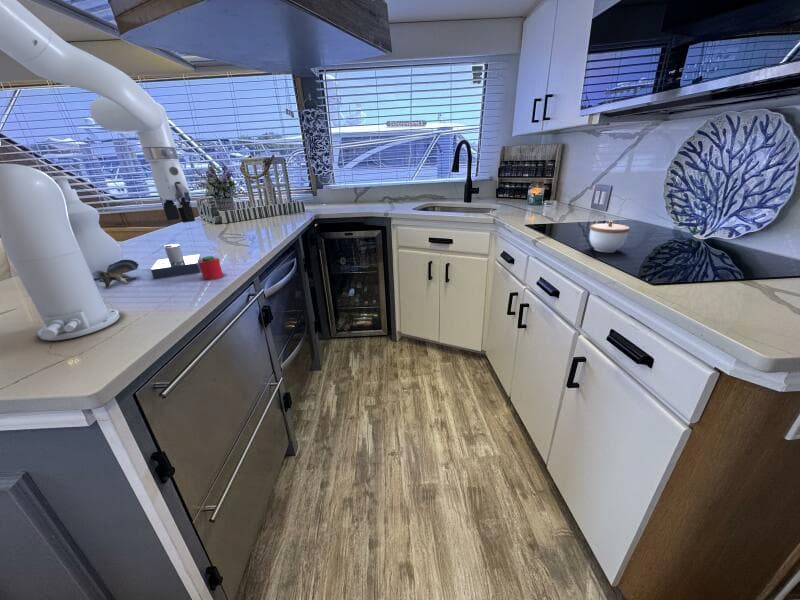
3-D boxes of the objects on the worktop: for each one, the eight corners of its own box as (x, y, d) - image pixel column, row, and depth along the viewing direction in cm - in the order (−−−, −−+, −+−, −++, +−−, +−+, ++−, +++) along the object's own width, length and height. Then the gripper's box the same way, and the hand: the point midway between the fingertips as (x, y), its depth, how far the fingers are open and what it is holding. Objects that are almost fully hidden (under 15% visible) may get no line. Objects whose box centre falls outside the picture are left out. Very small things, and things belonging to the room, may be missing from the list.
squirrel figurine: (123, 284, 89) (146, 268, 96) (97, 265, 86) (124, 250, 93) (110, 297, 91) (134, 281, 99) (85, 279, 88) (112, 263, 96)
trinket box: (631, 253, 100) (639, 223, 97) (596, 254, 101) (603, 224, 97) (611, 245, 110) (618, 217, 106) (580, 246, 111) (585, 219, 107)
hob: (199, 272, 100) (196, 262, 99) (154, 279, 96) (150, 269, 94) (202, 262, 110) (199, 253, 109) (160, 268, 106) (157, 259, 104)
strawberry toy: (222, 277, 94) (217, 258, 92) (202, 281, 92) (196, 260, 90) (223, 273, 99) (217, 254, 96) (203, 276, 97) (198, 256, 94)
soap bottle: (99, 283, 94) (53, 176, 83) (59, 285, 94) (6, 178, 82) (139, 266, 110) (104, 174, 98) (104, 267, 109) (65, 175, 98)
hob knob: (184, 258, 104) (179, 242, 102) (183, 261, 101) (177, 245, 99) (170, 260, 103) (165, 244, 101) (168, 263, 99) (162, 247, 97)
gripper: (191, 154, 84) (209, 220, 90) (164, 157, 93) (182, 217, 100) (158, 154, 78) (180, 225, 85) (133, 157, 88) (154, 220, 94)
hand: (181, 220), depth 92 cm, fingers open, 9 cm apart
